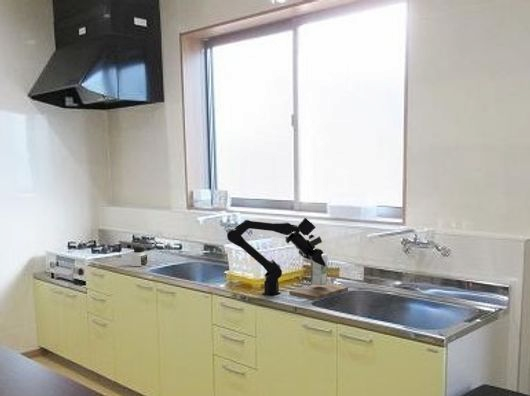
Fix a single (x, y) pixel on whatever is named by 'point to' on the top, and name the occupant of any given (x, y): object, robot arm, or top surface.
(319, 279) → the syrup box
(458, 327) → the top surface
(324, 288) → the walnut board
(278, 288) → the robot arm
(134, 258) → the medicine bottle
